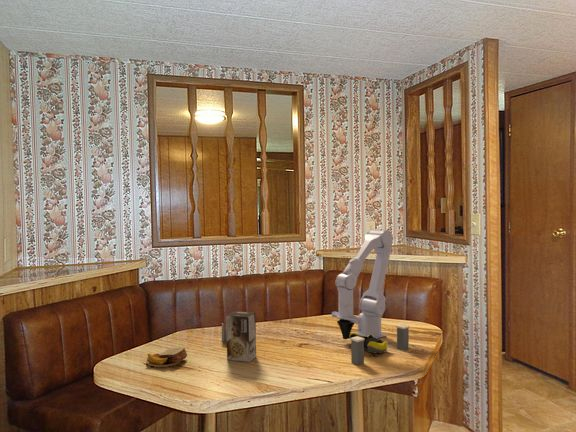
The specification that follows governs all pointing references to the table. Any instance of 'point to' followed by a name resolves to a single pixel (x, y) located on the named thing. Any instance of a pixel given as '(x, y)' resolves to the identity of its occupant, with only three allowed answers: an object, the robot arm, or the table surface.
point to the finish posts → (358, 342)
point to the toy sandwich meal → (167, 357)
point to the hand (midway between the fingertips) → (346, 338)
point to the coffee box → (241, 336)
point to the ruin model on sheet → (224, 333)
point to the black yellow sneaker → (372, 343)
